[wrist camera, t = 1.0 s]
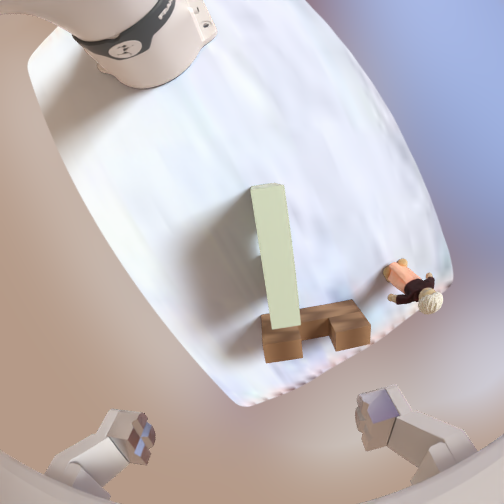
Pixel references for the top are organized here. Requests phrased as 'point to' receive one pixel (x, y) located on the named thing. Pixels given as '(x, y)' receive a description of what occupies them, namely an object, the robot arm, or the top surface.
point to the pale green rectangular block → (276, 254)
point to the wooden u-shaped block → (316, 330)
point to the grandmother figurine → (413, 287)
